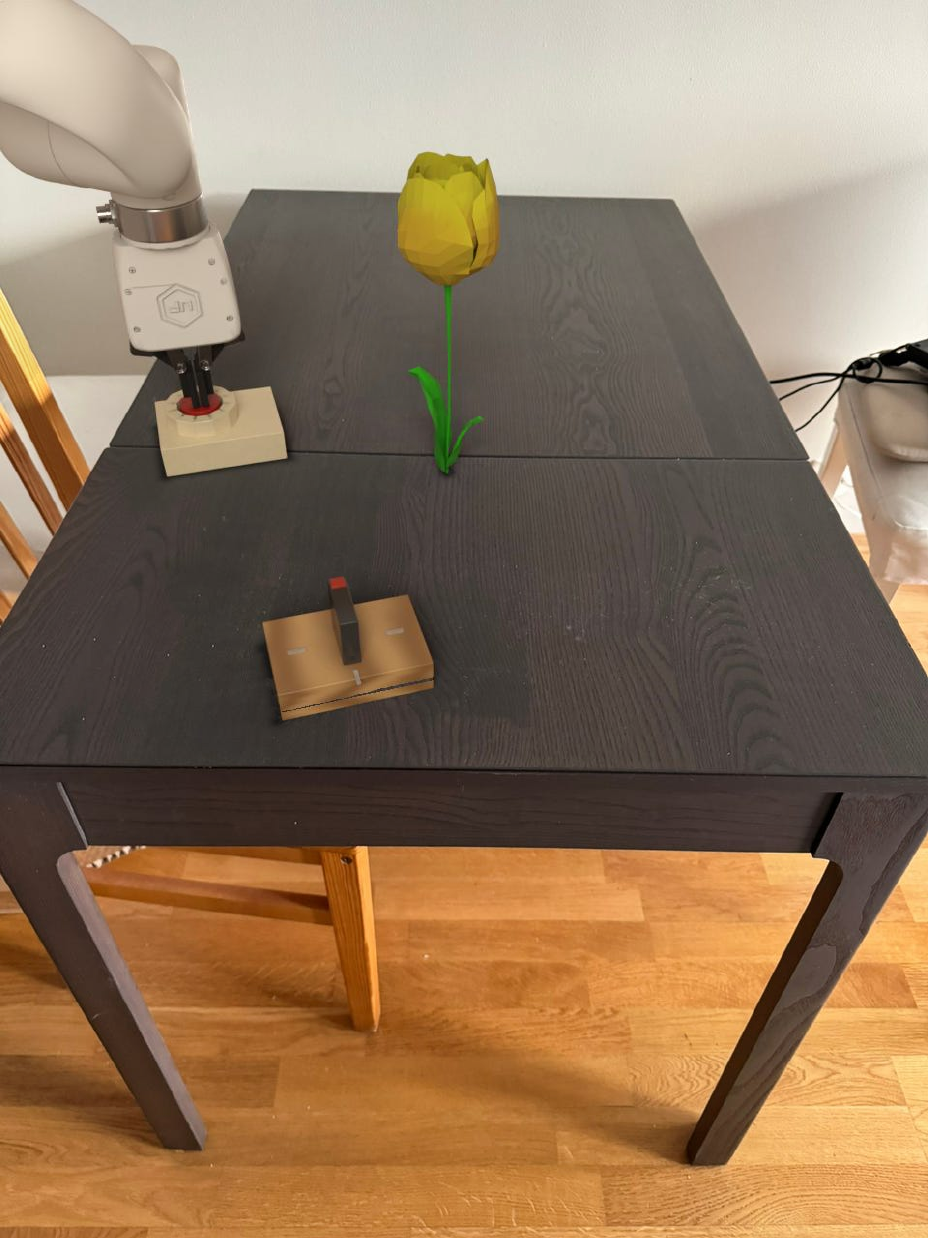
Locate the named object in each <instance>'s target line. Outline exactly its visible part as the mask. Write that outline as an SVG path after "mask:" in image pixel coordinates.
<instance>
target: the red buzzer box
mask: <svg viewBox="0 0 928 1238" xmlns="http://www.w3.org/2000/svg"><path fill="white" fill-rule="evenodd" d="M196 386H197V391H199V389H198V385H196ZM213 389H214V394H216V395H217V396H218V397H219V398H220V403H221V407H220V409H219V410H217V411H215V412H213V413H210V414H208V415H202V416H191V415H184V414H183V413H181V411H180V407H179V402H180V400H181V399H182V398H183V392H182V389H180V390H178V391H175V392H173V393H171V394H170V395H169V397H168V398H167V399H166V400H159V401H154V410H155V418H156V425H157V433H158V439H159V448H160V453H161V458H162V461H163V465H164V469H165V473H166V477H173V476H174V477H175V476H180V475H181V476H182V475H186V474H187V475H188V474H193V473H201V472H207V471H214V470H221V469H226V468H233V467H240V466H246V465H253V464H258V463H266V462H273V461H278V460H279V461H280V460H284V459H285V460H286V459H288V452H287V445H286V437H285V432H284V427H283V424H282V421H281V418H280V414H279V411H278V408H277V404H276V401H275V397H274V394H273V391H272V387H271V386H269V385H268V386H264V387H263V386H261V387H256V388H247V389H239V390H233V391H232V390H231V391H229V390H227V388H224V387H223V386H219V385H213Z"/></svg>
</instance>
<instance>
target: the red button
mask: <svg viewBox="0 0 928 1238" xmlns="http://www.w3.org/2000/svg"><path fill="white" fill-rule="evenodd" d="M198 396H199V402H200V407H199V408H198V409H193V404H192V400H191V397H188V398H184V397H183V398H182V399H181V400H180V402H179V407H180V411H181V413H183V414H184V415H191V416H202V415H208V414H210V413H213V412H215V411H217V410H219V409H220V407H221V403H220V398H219V397H218V396H217V395H216V394H209V395H207V396H208V401H209V406H210V407H204V406H202V403H201V398H200V393H199V391H198Z"/></svg>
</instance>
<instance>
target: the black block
mask: <svg viewBox="0 0 928 1238" xmlns="http://www.w3.org/2000/svg"><path fill="white" fill-rule="evenodd" d="M326 583H327V590H328V599H329V601H328V602H329V608H330V610H331V619H332V624H333V628H334V632H335V635H336V639H337V643H338V646H339V650H340V654H341V657H342V661H343V665H350V664H355V663H360V662H361V649H360V637H359V624H358V619H357V615H356V612H355V609H354V605H355V604H354V602H353V599H352V596H351V592H350V589H349V586H348V582H347V579H346V577H344V576H339V577H333V578H329V579H328V580H327V581H326Z"/></svg>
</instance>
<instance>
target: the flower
mask: <svg viewBox="0 0 928 1238" xmlns="http://www.w3.org/2000/svg"><path fill="white" fill-rule="evenodd" d="M497 192H498V191H497V185H496V182H495V178H494V175H493V171H492V168H491V163H490V160H489V159H488V158H487V157H486V158H485V159H484V160H482V161H481V162H479V163H478V164H477V163H476V161H475V160H474V159H473V157H472V156H471V155H466V156H463V155H455V154H452V153H448V152H447V153H445V154H444V155H442V154H440V153H437V152H433V151H425V152H420V153H418V154H417V155H416V156H415V157H414V160H413V162H412V163H411V165H410V167H409V168H408V170H407V176H406V181H405V184H404V186H403V187H402V189H401V192H400V195H399V198H398V201H397V221H398V222H397V227H396V232H397V248H398V250H399V252H400V254H401V256H402V257H403V259H404V260H405V262H407V263H408V264H409V265H410V266H411V267H412V268H413V269H414V270H415V271H416V272H418V273H419V274H421V275H422V276H423V277H424V278H425V279H428V280H429V281H430V282H432V283H434V284H435V285H436V286H437V285H438V286H443V288H444V289H443V290H444V303H445V315H446V316H445V317H446V342H447V345H446V346H447V398H446V399H447V400H446V401H447V404H446V405H447V407H446V406H445V399H444V394H443V391H442V388H441V384H440V383H439V382H438V381H437V380H436V379H435V378H434V377H433V376H432V375H431V374H430V373H429V372H428V371H427V370H426V369H424V368H422V367H421V366H417V367H414V368H412V369H408V370H407V373H408V374H410V375H411V376H412V377H413V378H415V379H416V380H417V381H419V383H420V385H421V388H422V391H423V393H424V396H425V399H426V402H427V403H426V404H427V406H428V407H427V408H428V410H429V413H430V415H431V417H432V420H433V430H434V431H433V432H434V435H433V436H434V437H433V438H434V444H433V445H434V447H433V448H434V450H433V456H434V459H435V462H436V464H437V466H438V468H439V470H440V471H441V472H443V473H445V474H449V468H450V467H451V466H452V465H454V463H455V462H456V461H457V460H458V458H459V455H460V451H461V447H462V443H463V439H464V436H465V434H466V432H467V430H468V429H469V428H470V427H472V425H474V424H477V423H480V422H483V421H485V419H484V418H482V416H480V415H478V416H477V417H474V418H473V419H470V420H469V421H468V422H467V423H466V424H465V426H463V429H462V431H461V433H460V434H459V436H458V438H457V440H456V441H455V443H454V446H453V449H452V452H451V454H450V449H451V445H452V441H453V430H452V427H451V422H452V381H451V380H452V375H451V373H452V371H451V370H452V369H451V368H452V367H451V365H452V364H451V363H452V361H451V359H452V357H451V356H452V354H451V353H452V346H451V345H452V291H453V289H452V287H453V286H457V285H458V284H460V283H461V282H462V281H463V280H464V279H465V278H469V277H470V276H472V275H475V274H477V273H479V272H481V271H482V270H483V269H485V268H488V266H490V265H491V264H493V261H494V260H495V258H496V256H497V253H498V252H499V248H500V231H501V230H500V227H501V226H500V208H499V201H498V193H497ZM446 409H447V410H446Z"/></svg>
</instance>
